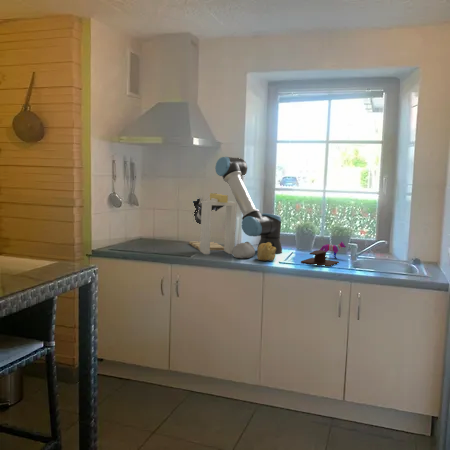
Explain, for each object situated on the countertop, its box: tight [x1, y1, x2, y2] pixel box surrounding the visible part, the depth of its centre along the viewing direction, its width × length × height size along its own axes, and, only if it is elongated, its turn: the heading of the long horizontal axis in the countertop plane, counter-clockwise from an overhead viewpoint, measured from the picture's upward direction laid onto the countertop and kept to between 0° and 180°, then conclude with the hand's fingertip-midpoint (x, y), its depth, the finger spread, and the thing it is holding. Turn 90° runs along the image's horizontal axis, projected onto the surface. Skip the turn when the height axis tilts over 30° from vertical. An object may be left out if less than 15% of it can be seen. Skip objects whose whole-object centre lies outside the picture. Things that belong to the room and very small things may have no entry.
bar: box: [209, 192, 229, 203], centre depth 277 cm, size 22×4×4 cm, turn 18°
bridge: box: [199, 198, 238, 255], centre depth 277 cm, size 10×18×32 cm, turn 108°
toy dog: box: [319, 241, 347, 259], centre depth 280 cm, size 4×18×10 cm, turn 66°
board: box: [188, 240, 224, 251], centre depth 298 cm, size 26×16×2 cm, turn 18°
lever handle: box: [300, 249, 340, 267], centre depth 259 cm, size 16×7×20 cm
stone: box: [256, 242, 276, 262], centre depth 261 cm, size 13×10×10 cm
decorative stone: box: [231, 241, 256, 259], centre depth 268 cm, size 17×10×10 cm
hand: (212, 197), depth 287 cm, fingers open, 13 cm apart
